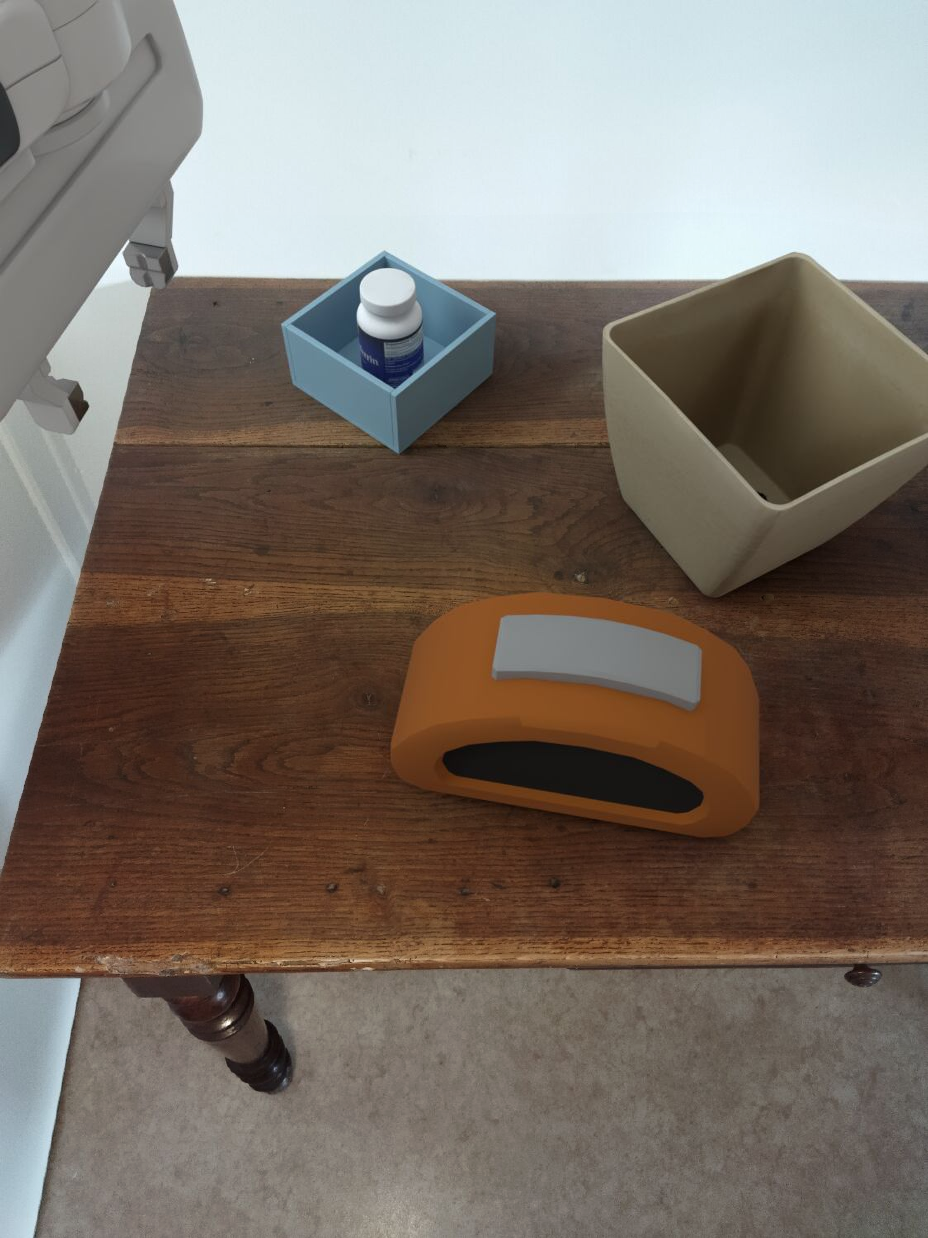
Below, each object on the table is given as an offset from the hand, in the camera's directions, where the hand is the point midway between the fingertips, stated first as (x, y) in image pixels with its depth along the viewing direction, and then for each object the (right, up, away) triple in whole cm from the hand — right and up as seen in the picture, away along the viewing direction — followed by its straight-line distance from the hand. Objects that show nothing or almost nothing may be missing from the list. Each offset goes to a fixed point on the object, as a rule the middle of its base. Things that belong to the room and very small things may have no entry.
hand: (114, 345), depth 40 cm
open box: (+9, +10, +43) cm, 45 cm away
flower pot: (+38, -4, +35) cm, 52 cm away
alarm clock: (+23, -23, +24) cm, 40 cm away
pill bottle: (+9, +10, +42) cm, 45 cm away
